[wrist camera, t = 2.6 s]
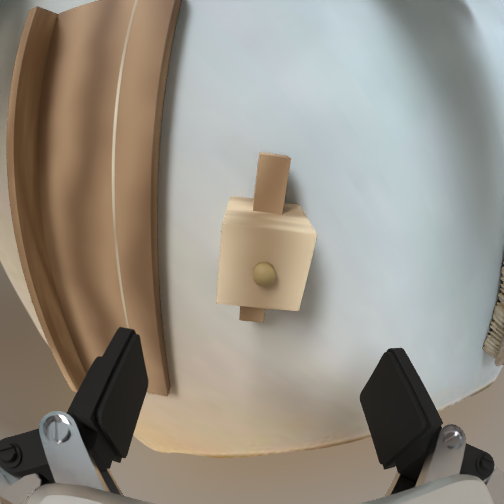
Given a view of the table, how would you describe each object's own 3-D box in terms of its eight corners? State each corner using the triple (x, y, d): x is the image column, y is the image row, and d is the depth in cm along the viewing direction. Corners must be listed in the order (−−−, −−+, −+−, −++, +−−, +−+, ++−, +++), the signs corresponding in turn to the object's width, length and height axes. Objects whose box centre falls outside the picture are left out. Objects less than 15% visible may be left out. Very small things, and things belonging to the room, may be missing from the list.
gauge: (307, 157, 18) (333, 171, 12) (280, 300, 23) (288, 356, 17) (235, 148, 18) (227, 156, 12) (222, 294, 23) (213, 350, 17)
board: (183, -7, 12) (167, -34, 8) (170, 386, 29) (162, 416, 25) (58, 21, 12) (29, 10, 8) (84, 365, 28) (71, 390, 24)
